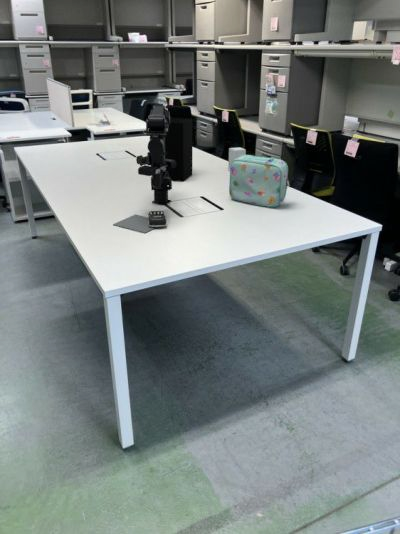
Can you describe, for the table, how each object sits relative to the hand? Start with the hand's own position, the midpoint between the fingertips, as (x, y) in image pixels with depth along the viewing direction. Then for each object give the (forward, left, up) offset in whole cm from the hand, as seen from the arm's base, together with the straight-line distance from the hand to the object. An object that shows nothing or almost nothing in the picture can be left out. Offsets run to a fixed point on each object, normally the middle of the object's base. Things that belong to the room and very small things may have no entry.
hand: (158, 188), depth 179 cm
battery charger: (+4, +2, -9) cm, 11 cm away
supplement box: (-85, -7, -12) cm, 86 cm away
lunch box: (-38, +28, -12) cm, 49 cm away
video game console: (-53, -28, -12) cm, 61 cm away
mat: (+13, 0, -12) cm, 17 cm away
